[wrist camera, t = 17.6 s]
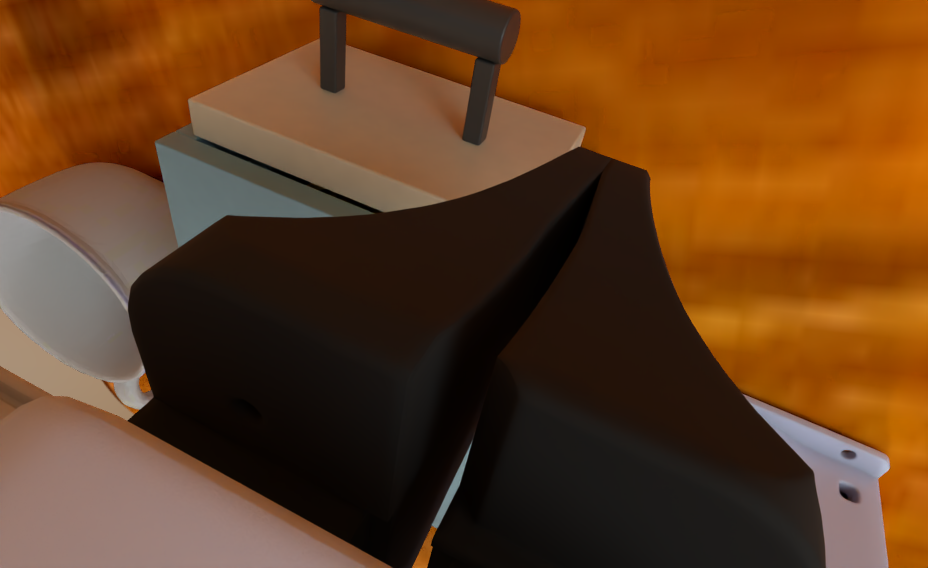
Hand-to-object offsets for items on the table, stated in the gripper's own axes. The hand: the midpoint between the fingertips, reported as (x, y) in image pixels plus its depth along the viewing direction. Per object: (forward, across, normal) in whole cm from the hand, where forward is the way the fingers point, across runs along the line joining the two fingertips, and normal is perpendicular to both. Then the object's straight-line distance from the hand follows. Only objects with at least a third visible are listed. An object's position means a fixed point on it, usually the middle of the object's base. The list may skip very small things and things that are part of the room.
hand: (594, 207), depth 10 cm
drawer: (+10, +7, +7) cm, 14 cm away
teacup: (+11, +23, +19) cm, 32 cm away
